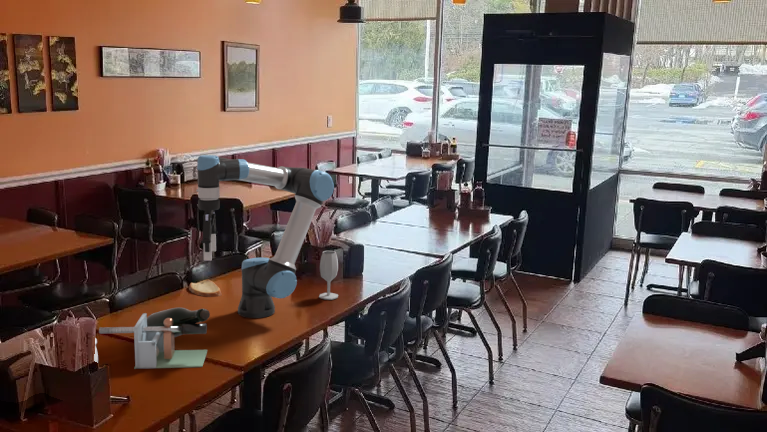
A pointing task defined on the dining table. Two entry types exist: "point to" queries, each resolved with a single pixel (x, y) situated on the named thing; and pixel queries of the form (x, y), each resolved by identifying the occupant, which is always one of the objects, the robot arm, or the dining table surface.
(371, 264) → the dining table surface
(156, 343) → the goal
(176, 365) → the pitch mat
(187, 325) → the foosball rod
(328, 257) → the wineglass
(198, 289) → the slice of bread
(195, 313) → the dark wine bottle
